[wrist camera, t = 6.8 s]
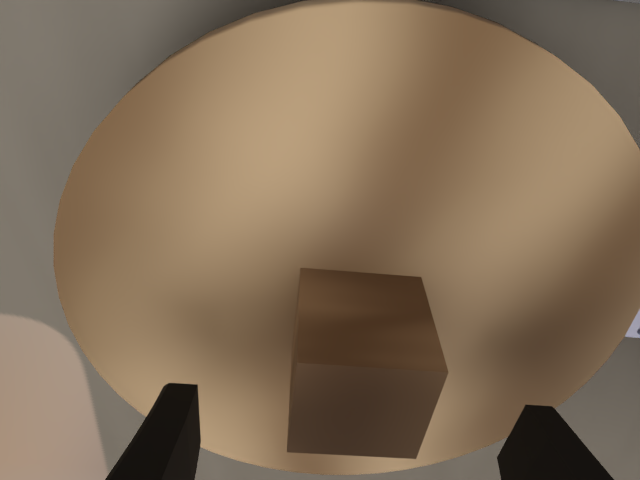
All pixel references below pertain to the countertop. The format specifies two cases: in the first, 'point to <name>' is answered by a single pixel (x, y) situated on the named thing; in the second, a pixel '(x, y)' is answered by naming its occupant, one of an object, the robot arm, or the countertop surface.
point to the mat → (634, 0)
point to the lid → (353, 235)
